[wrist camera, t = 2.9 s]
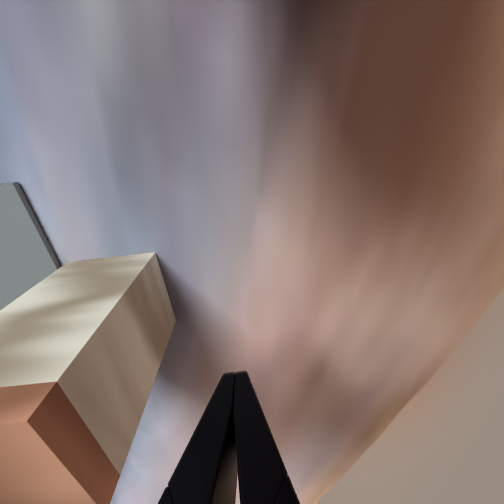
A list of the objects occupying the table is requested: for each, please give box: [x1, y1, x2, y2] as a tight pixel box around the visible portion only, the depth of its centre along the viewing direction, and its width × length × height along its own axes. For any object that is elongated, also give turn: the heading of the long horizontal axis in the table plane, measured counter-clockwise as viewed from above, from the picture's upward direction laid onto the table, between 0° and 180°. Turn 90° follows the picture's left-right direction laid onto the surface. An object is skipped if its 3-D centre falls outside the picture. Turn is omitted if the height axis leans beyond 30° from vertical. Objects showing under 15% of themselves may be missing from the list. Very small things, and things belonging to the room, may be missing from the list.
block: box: [0, 253, 176, 504], centre depth 11 cm, size 5×5×9 cm
